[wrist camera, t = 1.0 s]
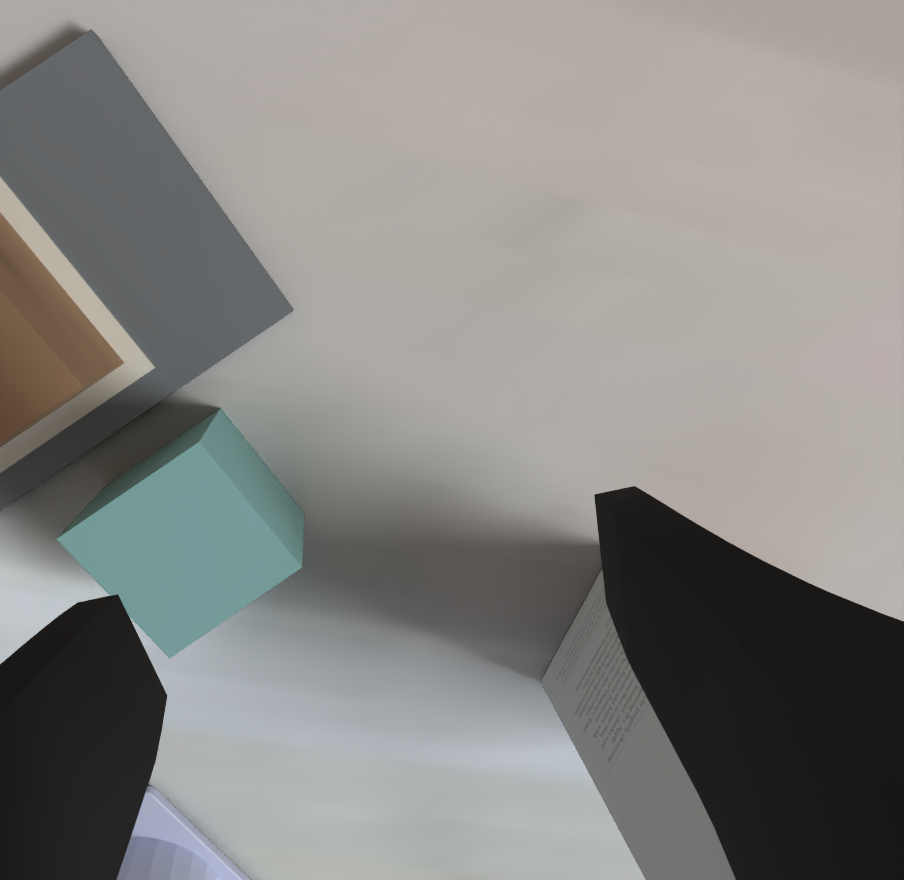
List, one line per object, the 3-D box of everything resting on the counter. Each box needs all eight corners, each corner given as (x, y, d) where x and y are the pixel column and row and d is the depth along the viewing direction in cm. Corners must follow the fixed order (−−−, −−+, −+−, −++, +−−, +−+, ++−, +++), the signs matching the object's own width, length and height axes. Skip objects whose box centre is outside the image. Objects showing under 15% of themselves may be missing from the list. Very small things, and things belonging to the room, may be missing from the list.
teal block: (195, 587, 24) (169, 658, 20) (105, 486, 23) (56, 539, 18) (304, 512, 24) (301, 567, 20) (221, 407, 23) (199, 441, 18)
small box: (773, 610, 29) (1121, 877, 16) (697, 738, 30) (972, 1084, 17) (610, 539, 27) (869, 787, 14) (533, 681, 27) (713, 1029, 15)
